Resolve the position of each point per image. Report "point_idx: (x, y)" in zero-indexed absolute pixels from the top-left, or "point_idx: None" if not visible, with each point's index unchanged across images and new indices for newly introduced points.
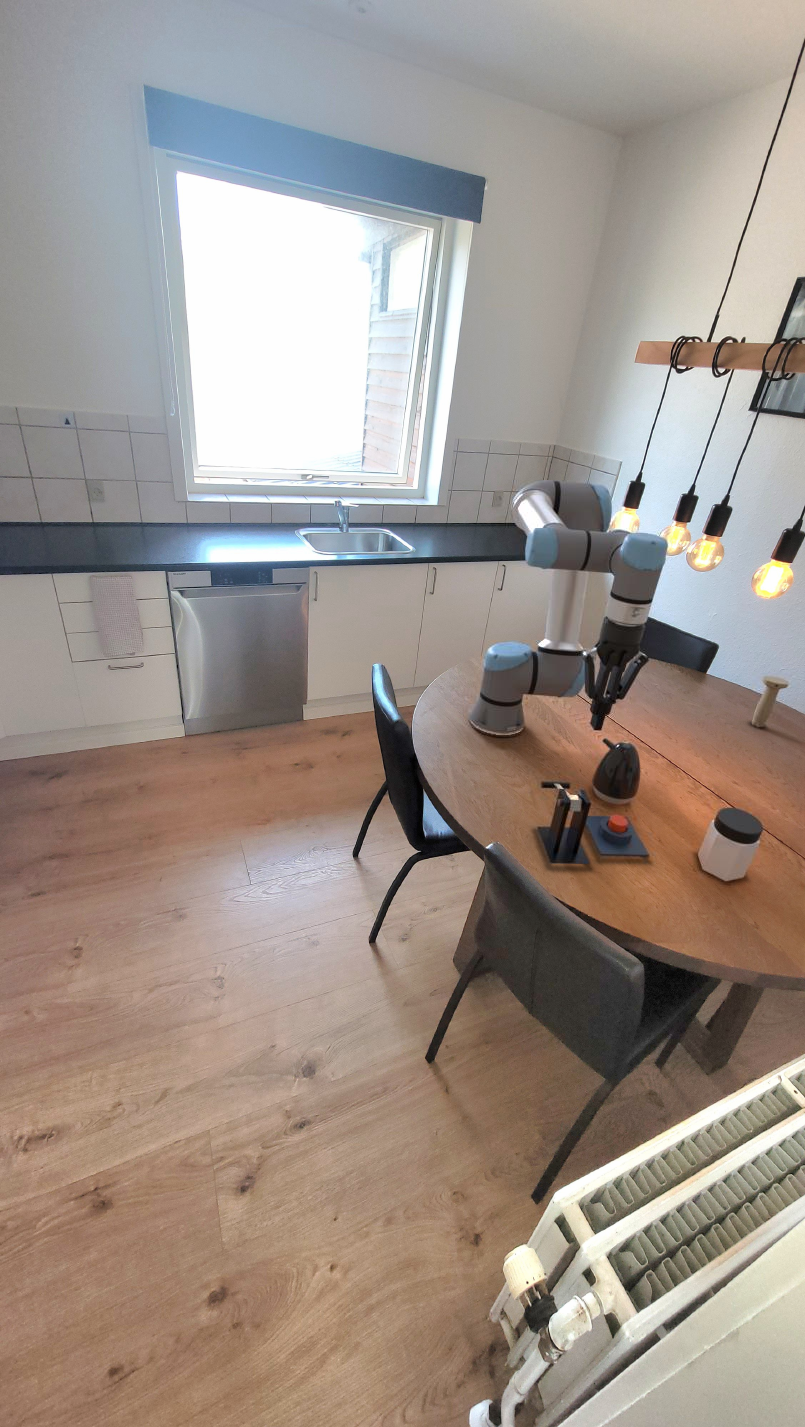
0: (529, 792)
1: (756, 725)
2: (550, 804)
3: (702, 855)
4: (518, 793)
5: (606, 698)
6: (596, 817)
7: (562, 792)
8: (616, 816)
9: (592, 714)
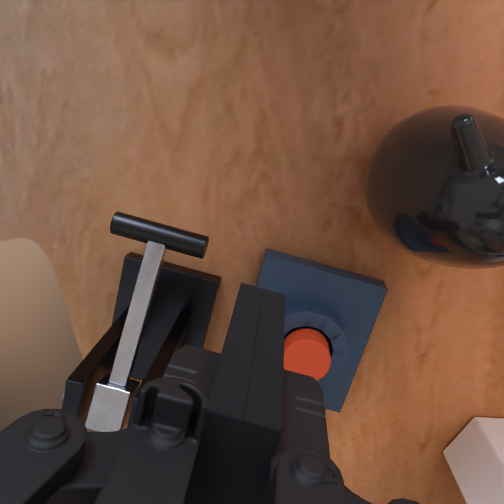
0: (188, 89)
1: None
2: (224, 159)
3: (465, 447)
4: (152, 86)
5: (263, 487)
6: (299, 271)
7: (67, 398)
8: (309, 347)
9: (232, 314)
